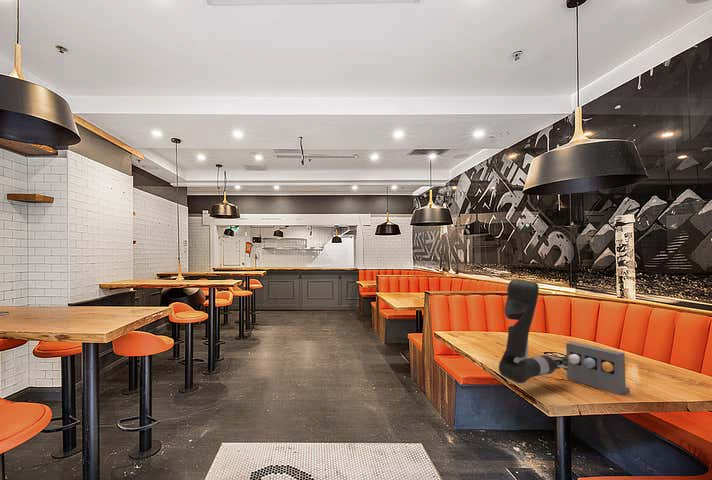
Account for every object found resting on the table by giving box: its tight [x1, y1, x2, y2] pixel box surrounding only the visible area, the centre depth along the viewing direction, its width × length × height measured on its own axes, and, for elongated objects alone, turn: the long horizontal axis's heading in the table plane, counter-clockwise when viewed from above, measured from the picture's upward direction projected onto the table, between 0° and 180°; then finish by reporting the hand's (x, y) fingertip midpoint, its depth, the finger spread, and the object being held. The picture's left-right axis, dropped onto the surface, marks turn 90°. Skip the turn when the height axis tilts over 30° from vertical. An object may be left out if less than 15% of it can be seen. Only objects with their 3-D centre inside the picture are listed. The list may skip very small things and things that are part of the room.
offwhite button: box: [569, 354, 581, 364], centre depth 154 cm, size 4×3×4 cm
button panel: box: [565, 341, 631, 396], centre depth 150 cm, size 21×8×16 cm, turn 27°
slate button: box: [584, 357, 597, 368], centre depth 149 cm, size 4×3×4 cm
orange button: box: [602, 361, 614, 372], centre depth 143 cm, size 4×3×4 cm
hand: (565, 360), depth 151 cm, fingers closed
